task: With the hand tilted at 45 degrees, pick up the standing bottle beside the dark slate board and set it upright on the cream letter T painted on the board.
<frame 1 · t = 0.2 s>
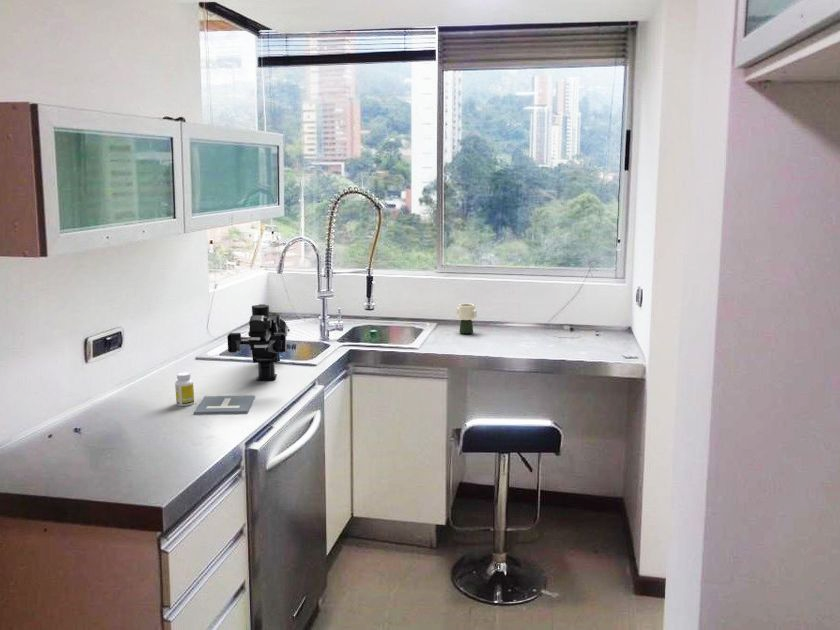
hand: (253, 349, 243), 17 cm above the worktop, tool horizontal, fingers open, 9 cm apart
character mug: (466, 333, 344), on the worktop
supplement bottle: (185, 404, 243), on the worktop
letter board: (225, 405, 240), on the worktop
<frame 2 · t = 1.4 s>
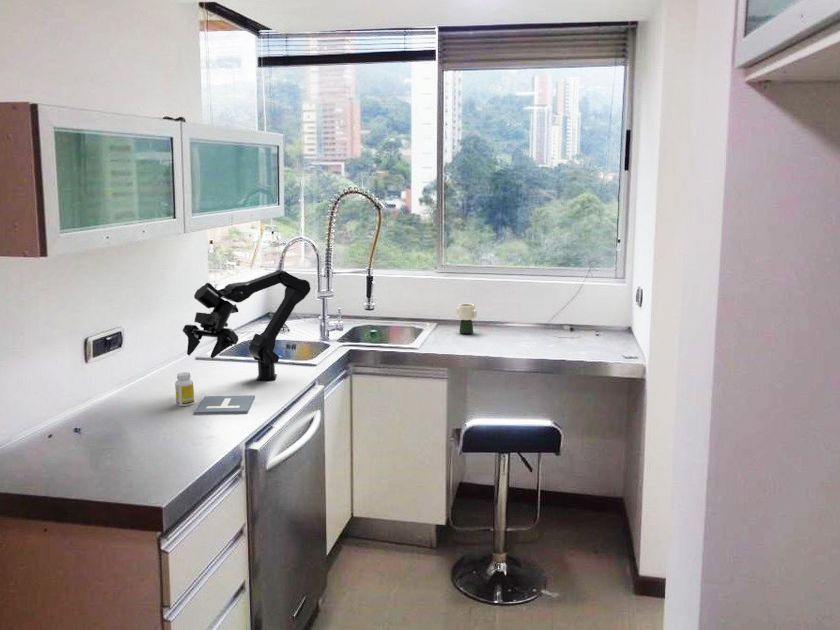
hand: (199, 356, 247), 14 cm above the worktop, tool tilted 45°, fingers open, 9 cm apart
nothing on the worktop moved.
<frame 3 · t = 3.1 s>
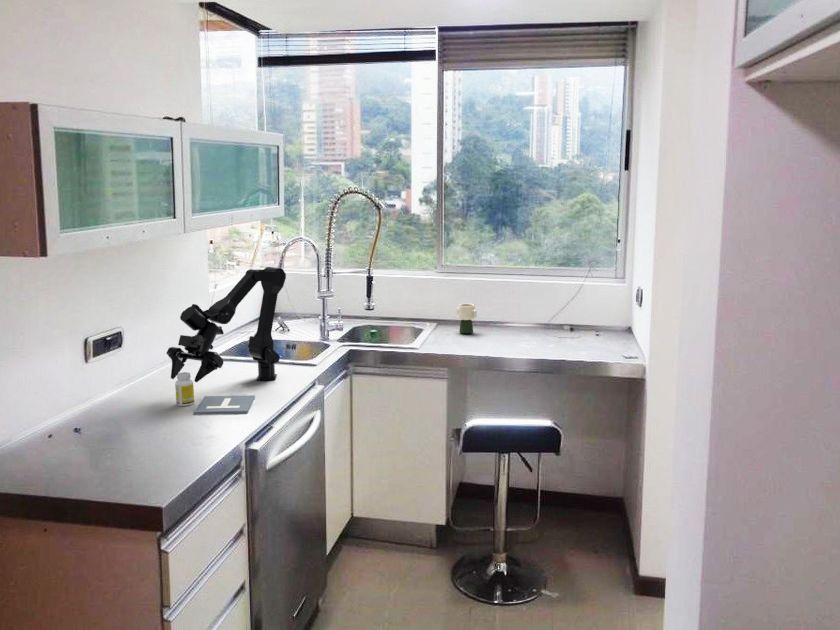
hand: (183, 380, 241), 8 cm above the worktop, tool tilted 45°, fingers open, 9 cm apart
nothing on the worktop moved.
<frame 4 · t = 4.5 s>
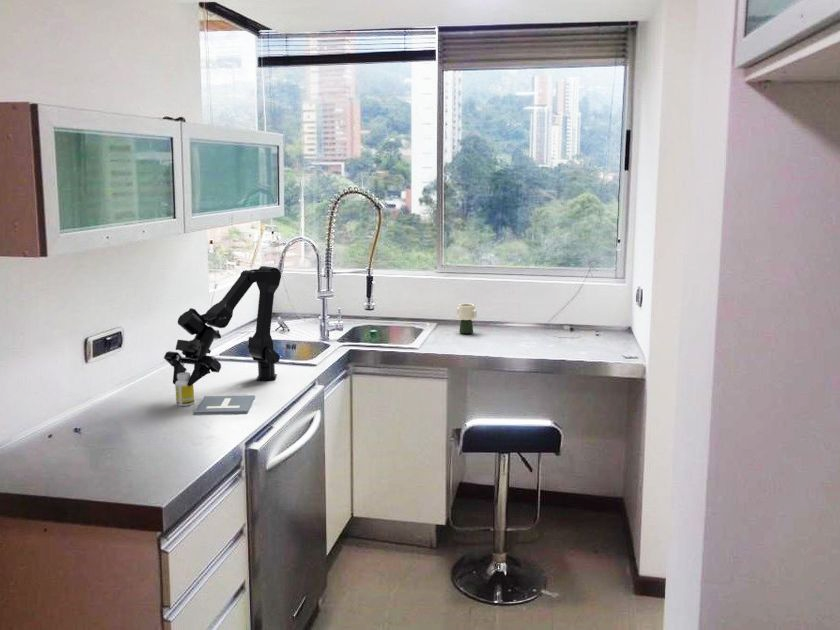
hand: (181, 384, 240), 7 cm above the worktop, tool tilted 45°, fingers closed on supplement bottle, 5 cm apart
supplement bottle: (185, 404, 243), on the worktop, touching gripper
everything else where it was.
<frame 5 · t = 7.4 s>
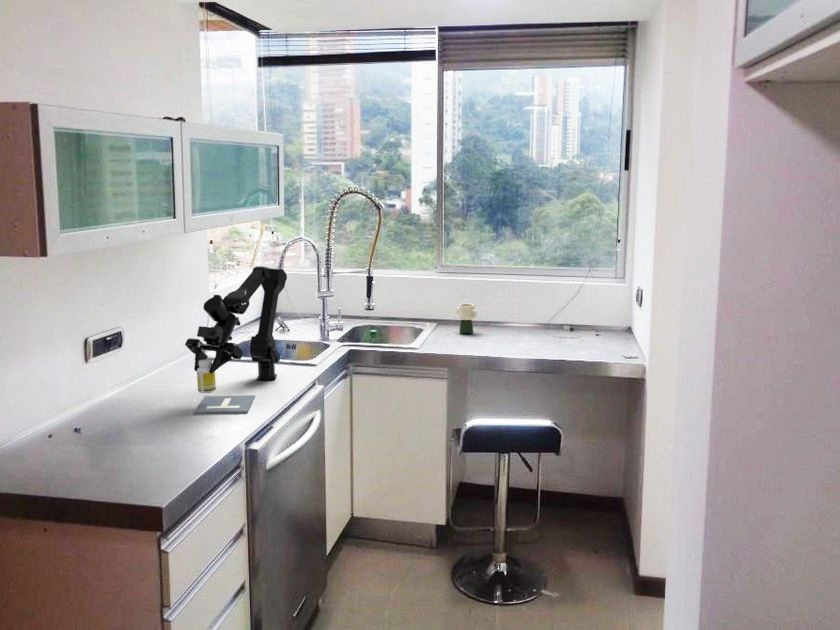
hand: (202, 371, 238), 11 cm above the worktop, tool tilted 45°, fingers closed on supplement bottle, 5 cm apart
supplement bottle: (207, 391, 240), point 4 cm above the worktop, touching gripper
everything else where it was.
when the fingers open (8 cm above the worktop, at t = 10.1 s): supplement bottle stays where it is, resting on letter board.
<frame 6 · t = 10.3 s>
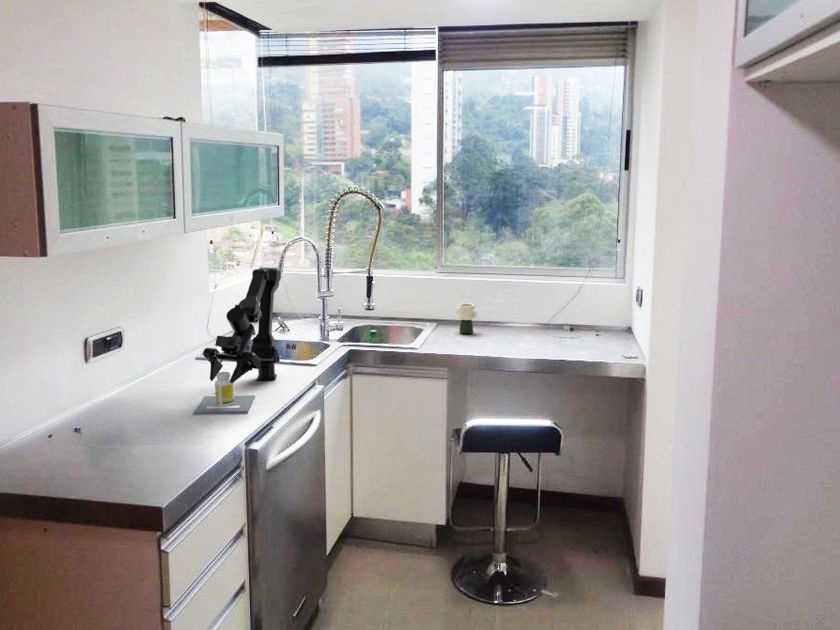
hand: (220, 381, 237), 9 cm above the worktop, tool tilted 45°, fingers open, 7 cm apart
supplement bottle: (225, 404, 240), point 1 cm above the worktop, touching letter board
everything else where it was.
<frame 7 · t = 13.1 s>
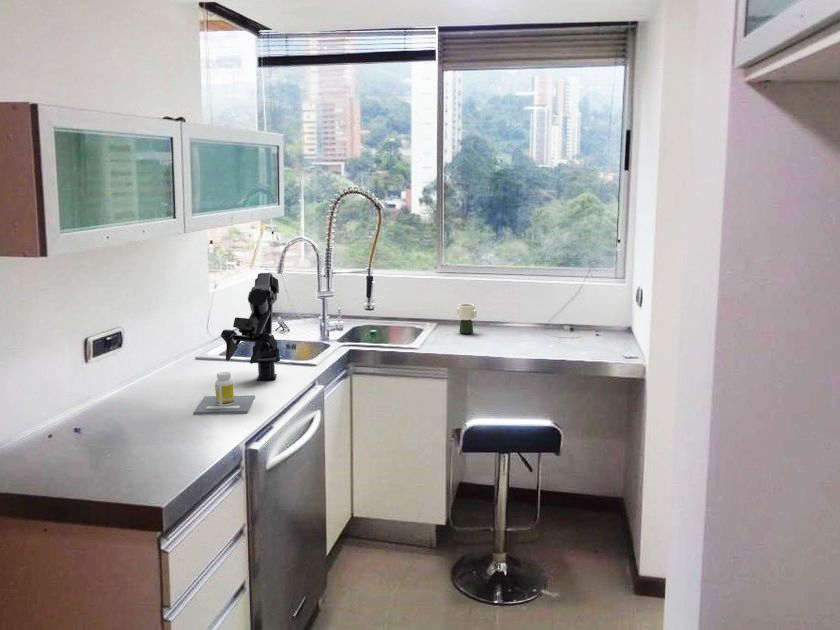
hand: (238, 361, 244), 13 cm above the worktop, tool tilted 45°, fingers open, 9 cm apart
nothing on the worktop moved.
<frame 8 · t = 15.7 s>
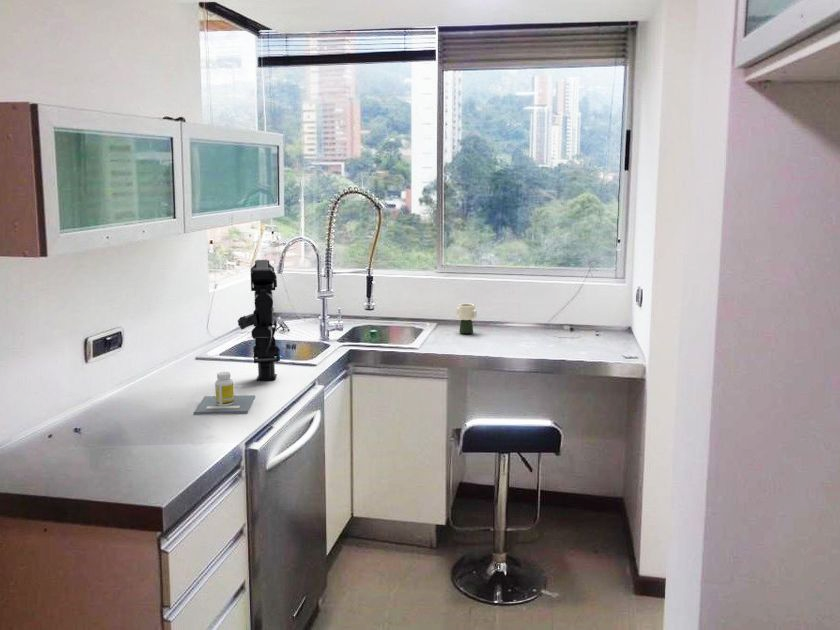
hand: (265, 352, 254), 13 cm above the worktop, tool pointing down, fingers open, 9 cm apart
nothing on the worktop moved.
at the end: supplement bottle inside the target area on the letter board (0.6 cm from its centre), point 0.7 cm above the letter board's base; supplement bottle tilted 0°; the gripper is holding nothing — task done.
